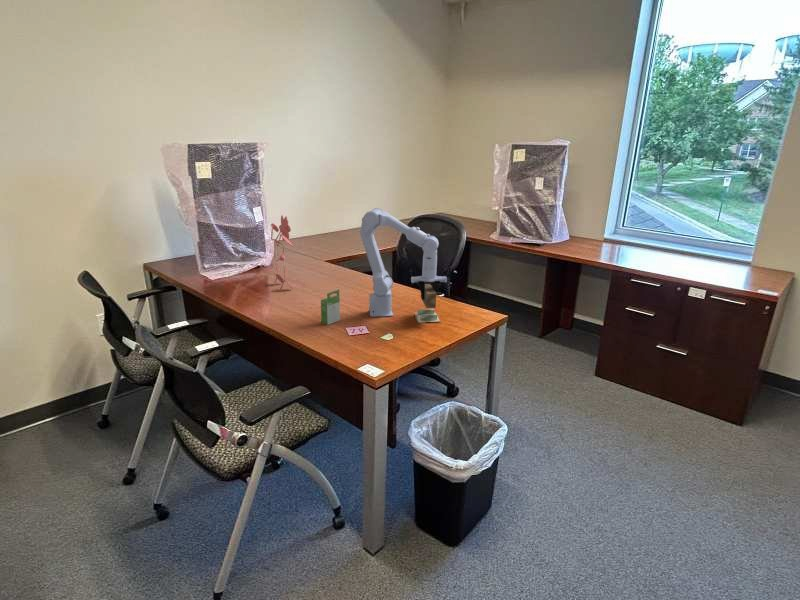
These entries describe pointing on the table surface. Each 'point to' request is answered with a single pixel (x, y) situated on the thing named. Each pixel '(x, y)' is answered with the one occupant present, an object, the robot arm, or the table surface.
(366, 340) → the table surface
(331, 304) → the ink box
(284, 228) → the figurine
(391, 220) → the robot arm
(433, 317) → the rail stand
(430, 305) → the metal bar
